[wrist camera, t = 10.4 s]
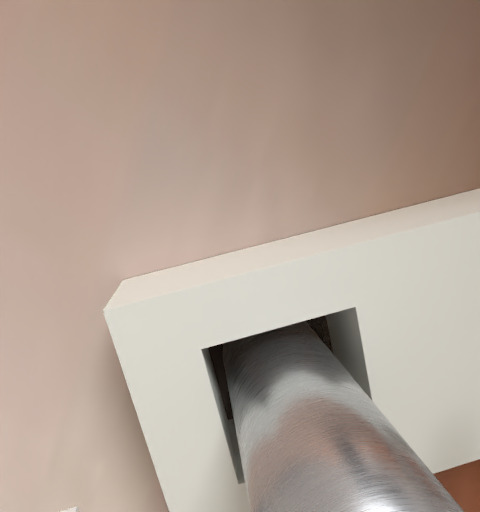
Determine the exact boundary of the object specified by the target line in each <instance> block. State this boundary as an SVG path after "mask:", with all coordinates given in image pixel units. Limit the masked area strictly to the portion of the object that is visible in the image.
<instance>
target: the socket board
mask: <svg viewBox="0 0 480 512" xmlns="http://www.w3.org/2000/svg"><path fill="white" fill-rule="evenodd" d="M103 313H104V316H105V319H106V322H107V325H108V328H109V331H110V334H111V337H112V340H113V343H114V346H115V349H116V352H117V355H118V358H119V361H120V364H121V367H122V370H123V373H124V376H125V379H126V382H127V385H128V389H129V392H130V395H131V398H132V401H133V404H134V407H135V410H136V413H137V416H138V419H139V422H140V425H141V428H142V431H143V434H144V437H145V440H146V443H147V446H148V449H149V452H150V455H151V458H152V461H153V464H154V467H155V470H156V473H157V476H158V479H159V482H160V485H161V488H162V491H163V494H164V497H165V501H166V504H167V507H168V510H169V512H250V506H249V501H248V495H247V490H246V484H245V479H244V473H243V468H242V462H241V456H240V451H239V445H238V440H237V434H236V429H235V423H234V418H233V419H229V420H228V418H227V415H226V411H225V407H224V404H223V400H222V396H221V393H220V389H219V385H218V382H217V378H216V374H215V371H214V367H213V363H212V360H211V356H210V352H209V349H208V347H212V346H215V345H219V344H222V343H226V342H230V341H233V340H237V339H241V338H244V337H248V336H251V335H255V334H259V333H262V332H266V331H270V330H273V329H277V328H280V327H284V326H288V325H291V324H295V323H299V322H302V321H306V320H309V319H313V318H317V317H320V316H324V315H326V320H327V325H328V330H329V335H330V340H331V345H332V350H333V354H334V356H335V357H336V358H337V359H338V360H339V362H340V363H341V364H342V365H343V366H344V368H345V369H346V370H347V371H348V372H349V374H350V375H351V376H352V377H353V378H354V380H355V381H356V382H357V383H358V384H359V386H360V387H361V388H362V389H363V390H364V392H365V393H366V394H367V395H368V396H369V398H370V399H371V400H372V401H373V402H374V404H375V405H376V406H377V407H378V408H379V410H380V411H381V412H382V413H383V414H384V416H385V417H386V418H387V419H388V420H389V422H390V423H391V424H392V425H393V426H394V428H395V429H396V430H397V431H398V433H399V434H400V435H401V436H402V437H403V439H404V440H405V441H406V442H407V443H408V445H409V446H410V447H411V448H412V449H413V451H414V452H415V453H416V454H417V455H418V457H419V458H420V459H421V460H422V461H423V463H424V464H425V465H426V466H427V467H428V469H429V470H430V471H431V472H432V473H433V474H434V473H437V472H441V471H444V470H447V469H450V468H453V467H456V466H459V465H462V464H466V463H469V462H472V461H475V460H478V459H480V188H479V189H475V190H471V191H467V192H463V193H459V194H456V195H452V196H448V197H444V198H440V199H436V200H432V201H428V202H424V203H421V204H417V205H413V206H409V207H405V208H401V209H397V210H393V211H389V212H386V213H382V214H378V215H374V216H370V217H366V218H362V219H358V220H354V221H351V222H347V223H343V224H339V225H335V226H331V227H327V228H323V229H319V230H315V231H312V232H308V233H304V234H300V235H296V236H292V237H288V238H284V239H280V240H277V241H273V242H269V243H265V244H261V245H257V246H253V247H249V248H245V249H242V250H238V251H234V252H230V253H226V254H222V255H218V256H214V257H210V258H207V259H203V260H199V261H195V262H191V263H187V264H183V265H179V266H175V267H172V268H168V269H164V270H160V271H156V272H152V273H148V274H144V275H140V276H136V277H133V278H129V279H125V280H123V281H122V282H121V284H120V286H119V287H118V289H117V290H116V292H115V293H114V295H113V296H112V298H111V299H110V301H109V302H108V304H107V305H106V307H105V308H104V310H103Z"/></svg>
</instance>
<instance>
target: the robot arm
mask: <svg viewBox="0 0 480 512" xmlns="http://www.w3.org/2000/svg"><path fill="white" fill-rule="evenodd" d="M60 512H80V511H79V509H78V506H76V507H73V508H70V509H67V510H63V511H60Z"/></svg>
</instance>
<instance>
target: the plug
mask: <svg viewBox="0 0 480 512" xmlns="http://www.w3.org/2000/svg"><path fill="white" fill-rule="evenodd" d="M223 362H224V368H225V373H226V379H227V384H228V390H229V395H230V401H231V407H232V412H233V418H234V423H235V429H236V434H237V440H238V445H239V451H240V456H241V462H242V468H243V473H244V479H245V484H246V490H247V495H248V501H249V506H250V512H464V511H463V510H462V508H461V507H460V506H459V505H458V503H457V502H456V501H455V500H454V499H453V497H452V496H451V495H450V494H449V493H448V491H447V490H446V489H445V488H444V487H443V485H442V484H441V483H440V482H439V481H438V479H437V478H436V477H435V476H434V475H433V473H432V472H431V471H430V470H429V469H428V467H427V466H426V465H425V464H424V463H423V461H422V460H421V459H420V458H419V457H418V455H417V454H416V453H415V452H414V451H413V449H412V448H411V447H410V446H409V445H408V443H407V442H406V441H405V440H404V439H403V437H402V436H401V435H400V434H399V433H398V431H397V430H396V429H395V428H394V426H393V425H392V424H391V423H390V422H389V420H388V419H387V418H386V417H385V416H384V414H383V413H382V412H381V411H380V410H379V408H378V407H377V406H376V405H375V404H374V402H373V401H372V400H371V399H370V398H369V396H368V395H367V394H366V393H365V392H364V390H363V389H362V388H361V387H360V386H359V384H358V383H357V382H356V381H355V380H354V378H353V377H352V376H351V375H350V374H349V372H348V371H347V370H346V369H345V368H344V366H343V365H342V364H341V363H340V362H339V360H338V359H337V358H336V357H335V356H334V354H333V353H332V352H331V351H330V349H329V348H328V347H327V346H326V345H325V343H324V342H323V341H322V340H321V339H320V337H319V336H318V335H317V334H316V333H315V331H314V330H313V329H312V328H311V327H310V325H309V324H308V323H307V322H306V321H302V322H299V323H295V324H291V325H288V326H284V327H280V328H277V329H273V330H270V331H266V332H262V333H259V334H255V335H251V336H248V337H244V338H241V339H237V340H233V341H230V342H226V343H224V346H223Z"/></svg>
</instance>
